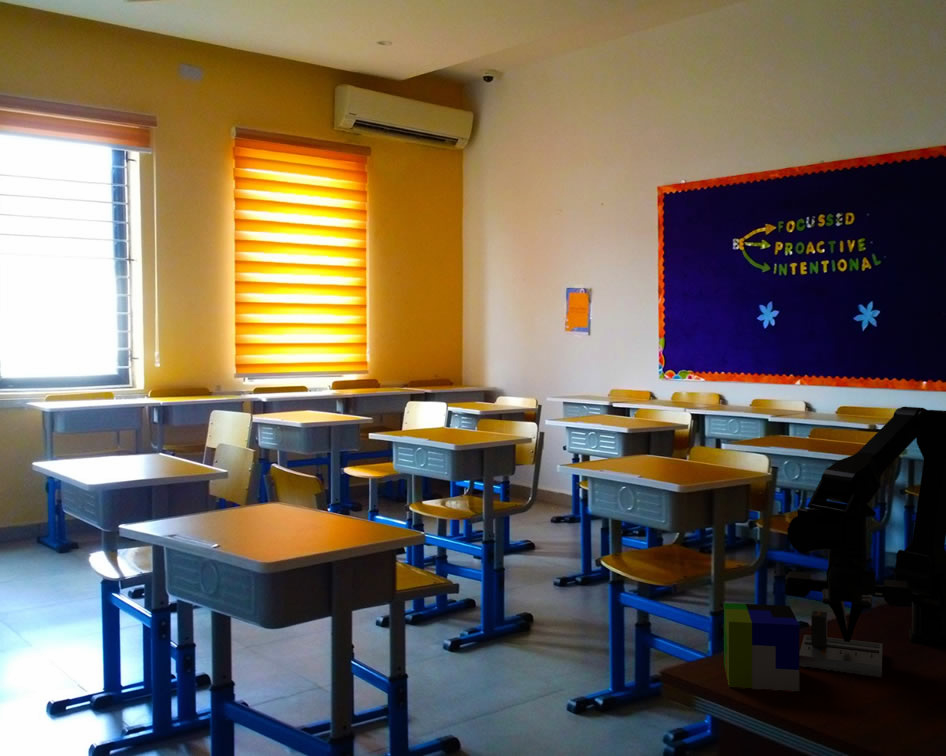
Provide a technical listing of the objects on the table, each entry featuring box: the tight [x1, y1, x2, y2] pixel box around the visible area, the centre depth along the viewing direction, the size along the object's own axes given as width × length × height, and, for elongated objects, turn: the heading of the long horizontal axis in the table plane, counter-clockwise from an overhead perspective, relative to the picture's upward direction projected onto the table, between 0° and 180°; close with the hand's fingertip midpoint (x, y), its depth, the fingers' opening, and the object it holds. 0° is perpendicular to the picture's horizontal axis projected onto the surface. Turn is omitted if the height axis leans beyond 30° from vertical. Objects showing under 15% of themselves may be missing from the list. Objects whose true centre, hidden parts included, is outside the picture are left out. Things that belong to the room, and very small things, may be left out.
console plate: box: [799, 634, 883, 678], centre depth 145 cm, size 11×12×2 cm
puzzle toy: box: [723, 602, 800, 692], centre depth 138 cm, size 10×10×10 cm
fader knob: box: [810, 610, 828, 647], centre depth 147 cm, size 3×2×5 cm
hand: (847, 641), depth 146 cm, fingers closed
